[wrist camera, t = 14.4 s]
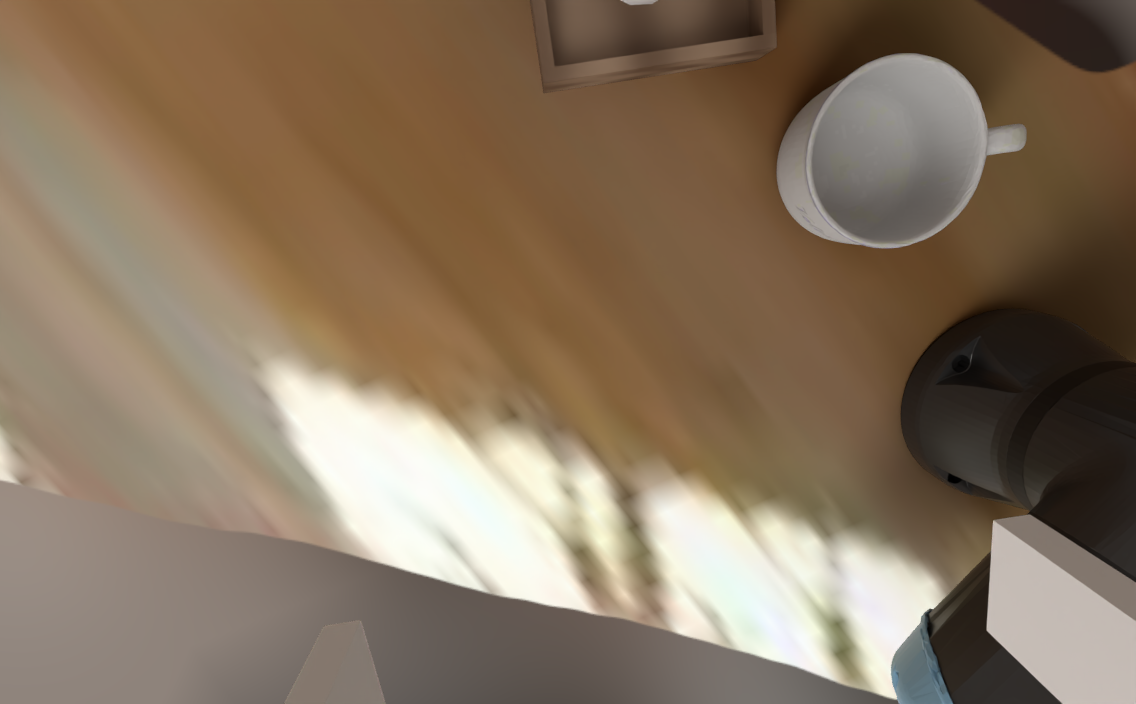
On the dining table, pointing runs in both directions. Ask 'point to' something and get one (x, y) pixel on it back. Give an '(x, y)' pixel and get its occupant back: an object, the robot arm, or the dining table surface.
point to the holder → (646, 38)
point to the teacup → (888, 153)
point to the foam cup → (639, 2)
